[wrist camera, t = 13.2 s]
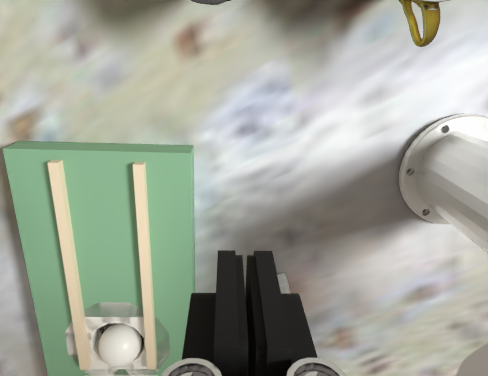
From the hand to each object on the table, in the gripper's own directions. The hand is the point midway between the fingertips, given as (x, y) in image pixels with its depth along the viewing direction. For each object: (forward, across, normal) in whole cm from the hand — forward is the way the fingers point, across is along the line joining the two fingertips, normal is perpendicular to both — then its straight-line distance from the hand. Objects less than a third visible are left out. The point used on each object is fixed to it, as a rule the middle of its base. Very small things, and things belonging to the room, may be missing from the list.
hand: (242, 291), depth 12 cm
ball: (+27, +13, +28) cm, 40 cm away
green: (+29, +13, +19) cm, 37 cm away
